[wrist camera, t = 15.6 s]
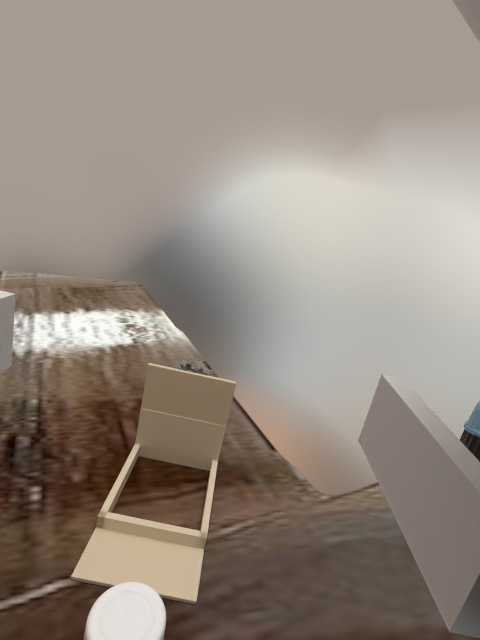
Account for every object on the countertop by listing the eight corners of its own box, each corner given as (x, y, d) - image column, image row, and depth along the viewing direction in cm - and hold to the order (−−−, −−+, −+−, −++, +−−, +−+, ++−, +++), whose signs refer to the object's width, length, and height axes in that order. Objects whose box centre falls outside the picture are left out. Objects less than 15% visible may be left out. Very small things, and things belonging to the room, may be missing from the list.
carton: (195, 604, 37) (226, 480, 33) (70, 579, 36) (86, 451, 32) (215, 468, 57) (236, 381, 53) (135, 451, 56) (149, 362, 52)
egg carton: (188, 402, 74) (192, 384, 73) (156, 389, 76) (159, 372, 75) (210, 383, 84) (213, 367, 83) (181, 372, 86) (184, 356, 85)
